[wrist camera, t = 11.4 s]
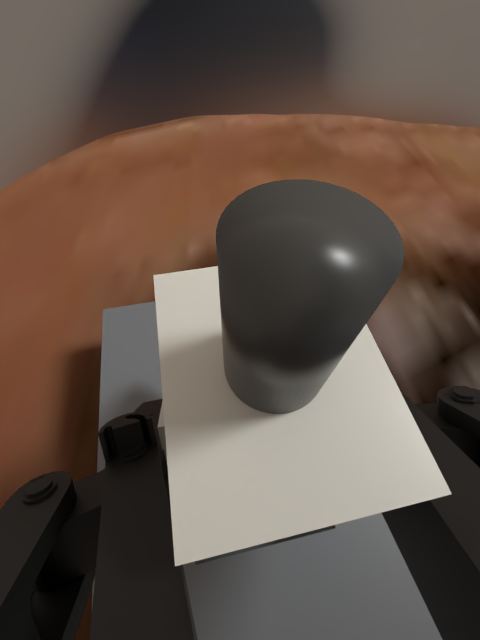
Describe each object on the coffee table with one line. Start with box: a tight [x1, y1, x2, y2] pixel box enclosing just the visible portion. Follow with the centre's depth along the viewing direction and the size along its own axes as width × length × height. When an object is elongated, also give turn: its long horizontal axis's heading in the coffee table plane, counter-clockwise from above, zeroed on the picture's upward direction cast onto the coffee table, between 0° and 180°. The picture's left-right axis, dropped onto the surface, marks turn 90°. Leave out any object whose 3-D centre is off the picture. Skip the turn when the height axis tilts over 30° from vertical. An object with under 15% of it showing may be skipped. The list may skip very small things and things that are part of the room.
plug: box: [154, 180, 452, 566], centre depth 9 cm, size 4×5×15 cm
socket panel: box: [91, 302, 443, 640], centre depth 16 cm, size 14×20×4 cm
